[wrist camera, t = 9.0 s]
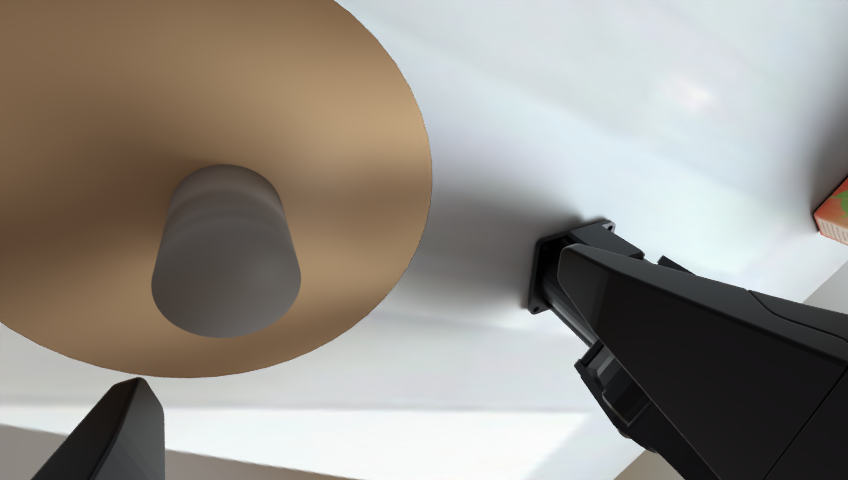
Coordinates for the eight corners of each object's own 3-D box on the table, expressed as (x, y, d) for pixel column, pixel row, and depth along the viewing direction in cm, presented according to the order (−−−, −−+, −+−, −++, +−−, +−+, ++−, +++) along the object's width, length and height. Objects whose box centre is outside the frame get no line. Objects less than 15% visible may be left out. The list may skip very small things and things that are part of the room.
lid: (436, 293, 19) (488, 367, 15) (101, 413, 15) (61, 550, 12) (400, -80, 11) (487, -114, 8) (-299, -29, 8) (-815, -46, 4)
